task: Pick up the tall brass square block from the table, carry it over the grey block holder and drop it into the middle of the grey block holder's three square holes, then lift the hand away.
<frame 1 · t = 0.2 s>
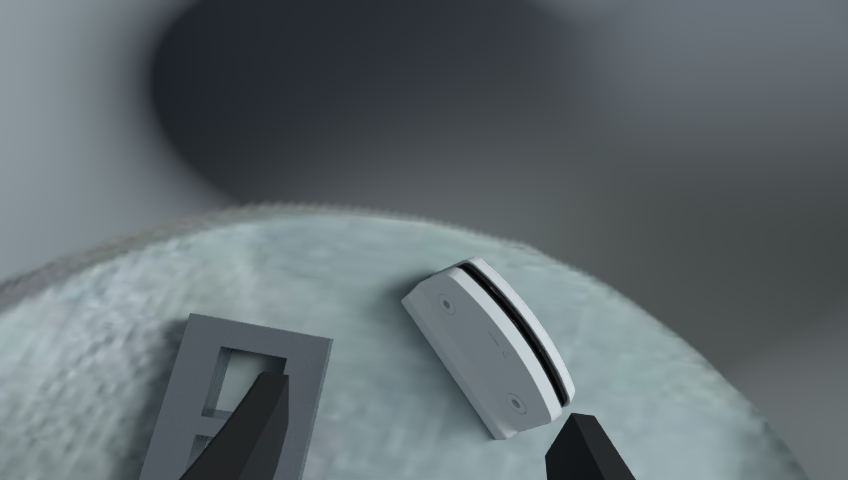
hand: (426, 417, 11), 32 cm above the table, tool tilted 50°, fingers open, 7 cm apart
grey block holder: (233, 465, 38), on the table
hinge: (477, 345, 44), on the table
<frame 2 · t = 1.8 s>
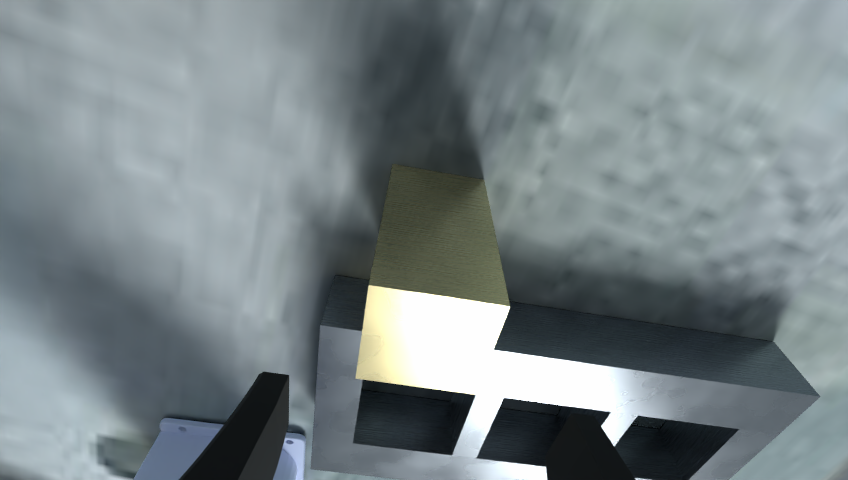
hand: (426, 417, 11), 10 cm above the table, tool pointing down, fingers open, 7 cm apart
brass block: (430, 211, 20), on the table
grey block holder: (528, 382, 26), on the table
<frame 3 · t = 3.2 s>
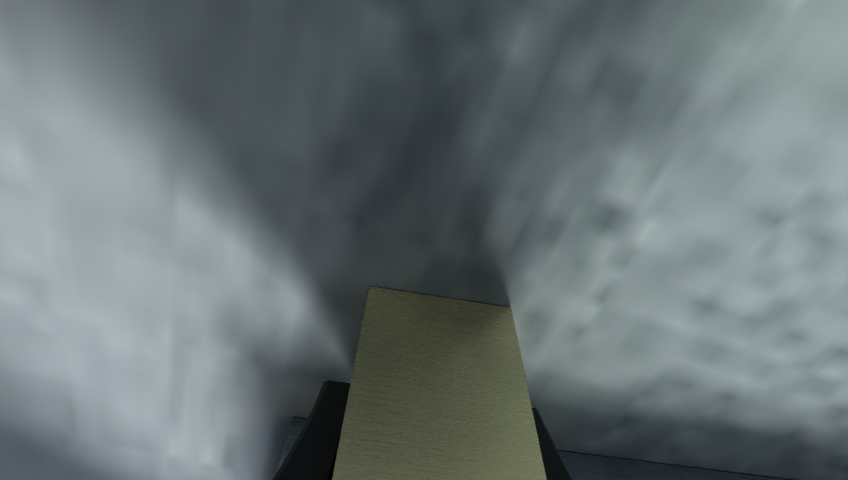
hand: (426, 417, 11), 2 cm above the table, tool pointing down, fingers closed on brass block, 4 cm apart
brass block: (427, 346, 13), on the table, touching gripper
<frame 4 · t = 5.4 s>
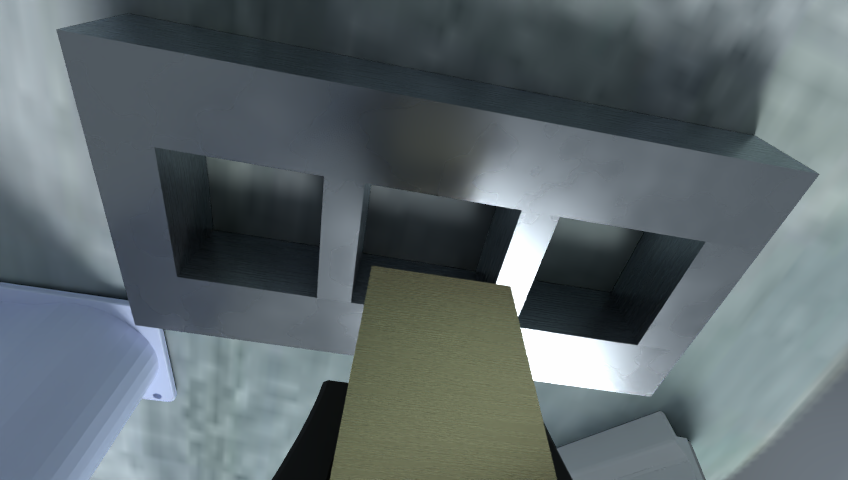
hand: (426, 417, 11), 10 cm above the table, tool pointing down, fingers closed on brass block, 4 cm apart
brass block: (429, 326, 13), point 7 cm above the table, touching gripper
grey block holder: (430, 213, 20), on the table
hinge: (571, 470, 32), on the table
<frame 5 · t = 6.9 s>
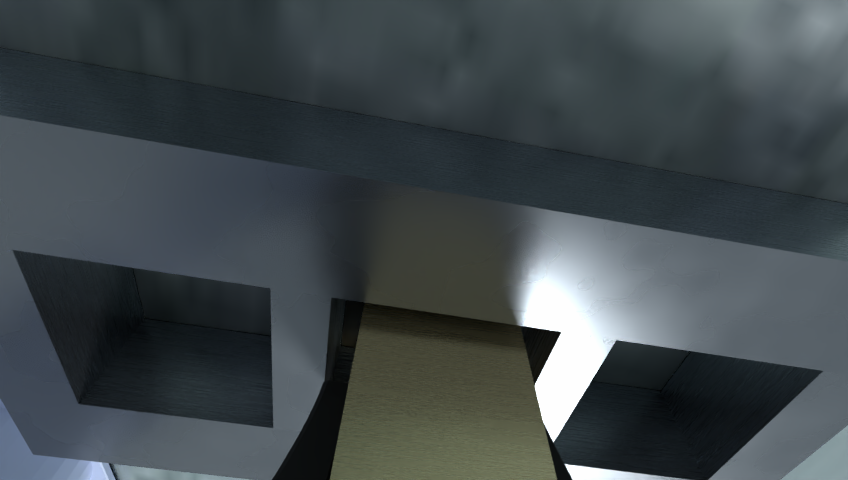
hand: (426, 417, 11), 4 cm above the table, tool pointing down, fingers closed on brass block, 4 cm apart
brass block: (429, 326, 13), point 1 cm above the table, touching gripper
grey block holder: (429, 301, 15), on the table
when the fingers open (4 cm above the table, at t = 7.8 s): brass block drops 2 cm, resting in grey block holder.
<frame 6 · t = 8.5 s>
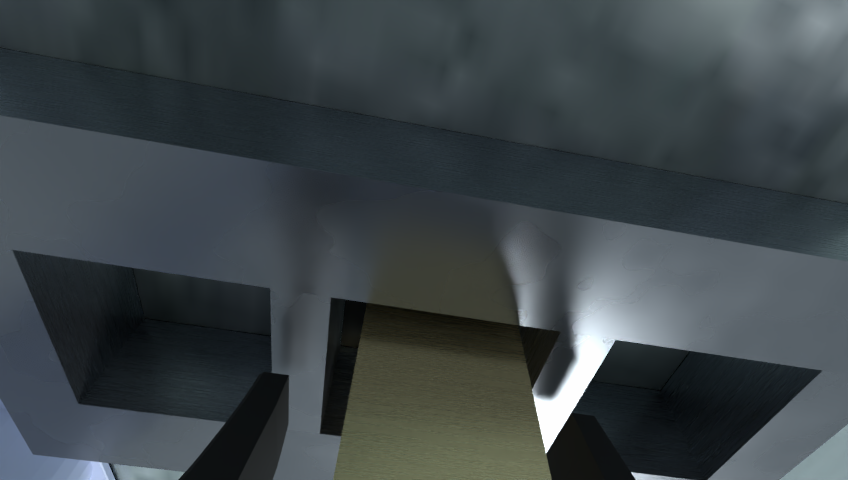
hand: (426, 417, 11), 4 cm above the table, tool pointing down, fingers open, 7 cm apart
brass block: (430, 297, 15), resting in grey block holder
grey block holder: (428, 301, 15), on the table
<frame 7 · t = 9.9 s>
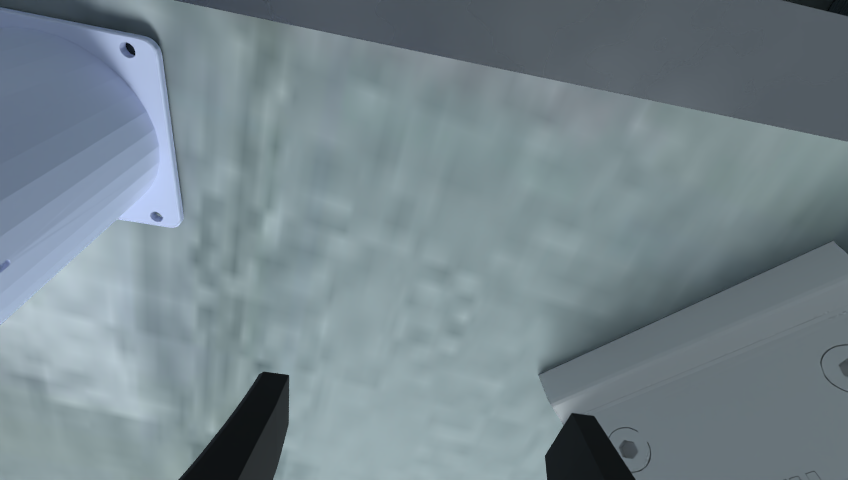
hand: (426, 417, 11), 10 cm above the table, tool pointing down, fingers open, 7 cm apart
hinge: (689, 349, 26), on the table
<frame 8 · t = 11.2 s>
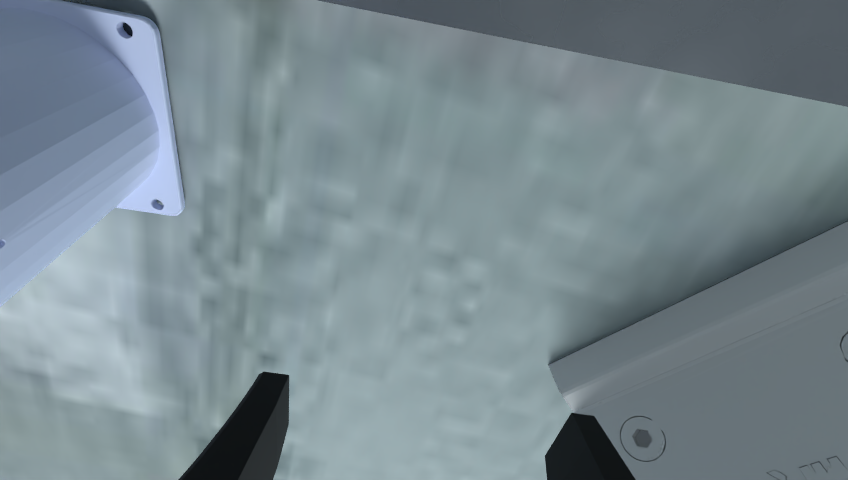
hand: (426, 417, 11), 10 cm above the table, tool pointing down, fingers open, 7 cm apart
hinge: (703, 335, 25), on the table
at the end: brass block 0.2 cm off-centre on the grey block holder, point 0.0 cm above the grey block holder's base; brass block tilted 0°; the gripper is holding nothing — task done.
